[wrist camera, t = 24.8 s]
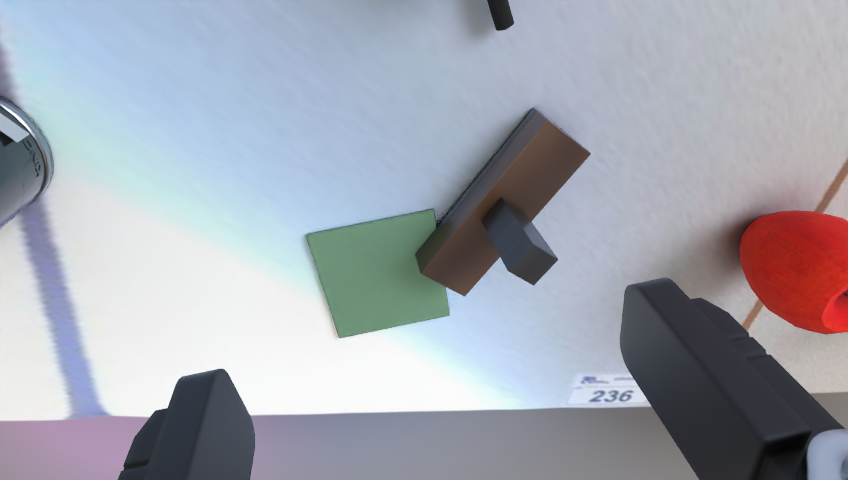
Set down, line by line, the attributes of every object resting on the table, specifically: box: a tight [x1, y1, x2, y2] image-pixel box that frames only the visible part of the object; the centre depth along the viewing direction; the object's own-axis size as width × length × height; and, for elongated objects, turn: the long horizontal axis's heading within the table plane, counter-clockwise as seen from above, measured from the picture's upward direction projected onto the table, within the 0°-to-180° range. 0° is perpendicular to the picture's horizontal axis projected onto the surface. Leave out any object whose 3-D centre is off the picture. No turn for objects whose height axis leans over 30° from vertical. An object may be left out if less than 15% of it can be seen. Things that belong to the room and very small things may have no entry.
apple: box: [740, 211, 848, 334], centre depth 45 cm, size 10×10×12 cm
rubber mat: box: [306, 209, 450, 338], centre depth 46 cm, size 11×12×1 cm
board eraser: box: [415, 108, 591, 296], centre depth 39 cm, size 5×16×10 cm, turn 143°
